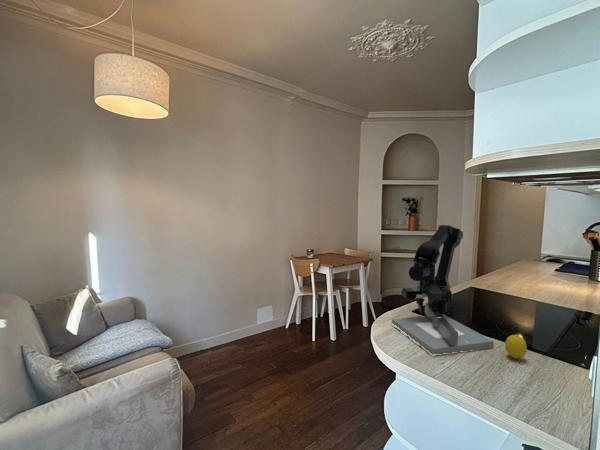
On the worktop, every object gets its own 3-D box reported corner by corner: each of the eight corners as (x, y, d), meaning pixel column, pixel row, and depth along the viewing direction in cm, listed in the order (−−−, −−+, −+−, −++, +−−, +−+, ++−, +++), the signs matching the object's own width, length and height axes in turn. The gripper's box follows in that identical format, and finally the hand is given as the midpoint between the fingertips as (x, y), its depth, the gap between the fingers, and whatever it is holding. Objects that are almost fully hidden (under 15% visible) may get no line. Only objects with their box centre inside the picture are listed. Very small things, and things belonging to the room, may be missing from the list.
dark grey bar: (422, 312, 123) (422, 303, 123) (433, 313, 122) (433, 303, 122) (446, 344, 96) (447, 332, 96) (460, 345, 96) (461, 333, 95)
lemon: (501, 358, 95) (503, 333, 94) (507, 352, 98) (509, 329, 98) (522, 365, 91) (525, 340, 90) (527, 359, 94) (530, 335, 93)
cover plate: (442, 320, 124) (443, 313, 124) (493, 348, 101) (493, 340, 101) (391, 325, 118) (392, 318, 118) (432, 356, 95) (433, 348, 95)
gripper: (412, 282, 111) (411, 322, 113) (461, 281, 112) (459, 321, 113) (401, 274, 122) (400, 311, 124) (445, 273, 123) (444, 310, 125)
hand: (425, 313), depth 121 cm, fingers open, 3 cm apart
